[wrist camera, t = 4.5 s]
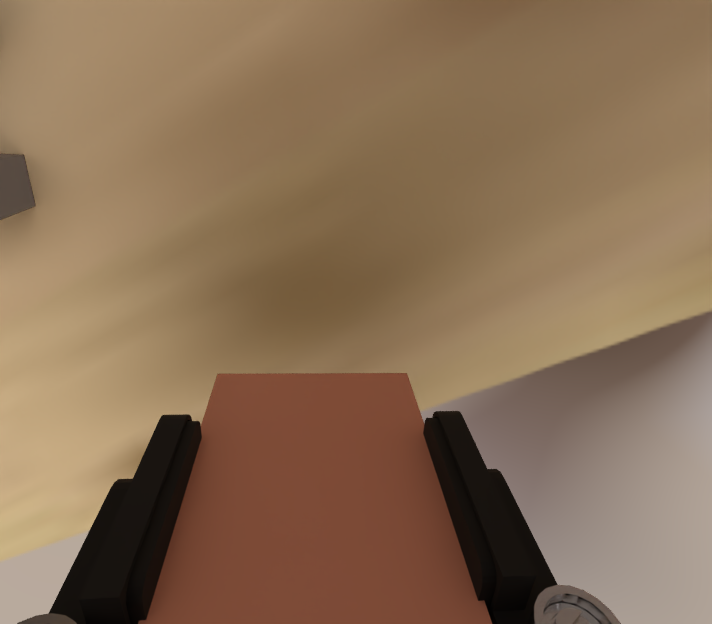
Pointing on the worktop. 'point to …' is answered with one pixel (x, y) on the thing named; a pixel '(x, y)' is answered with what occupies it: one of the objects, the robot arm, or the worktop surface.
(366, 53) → the worktop surface
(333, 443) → the red domino
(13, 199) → the domino
